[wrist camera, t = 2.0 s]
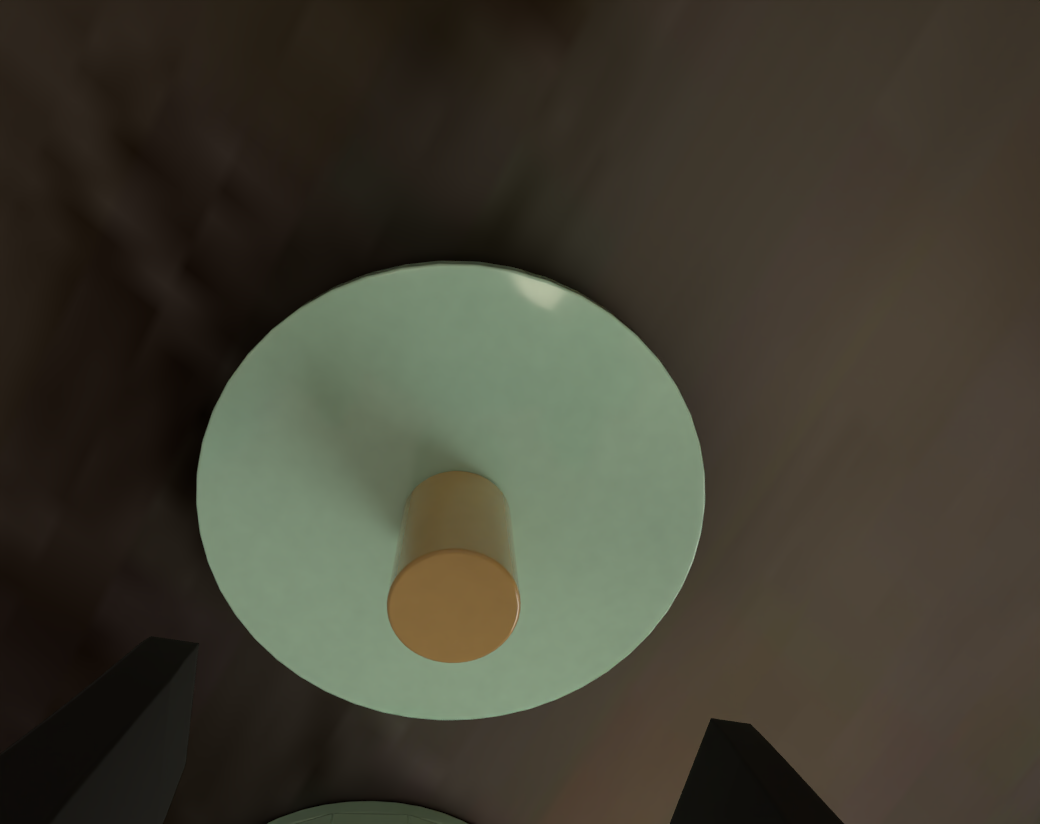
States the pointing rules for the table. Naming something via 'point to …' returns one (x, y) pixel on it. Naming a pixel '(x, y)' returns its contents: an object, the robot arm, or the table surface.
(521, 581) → the lid
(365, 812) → the pot
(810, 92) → the table surface
